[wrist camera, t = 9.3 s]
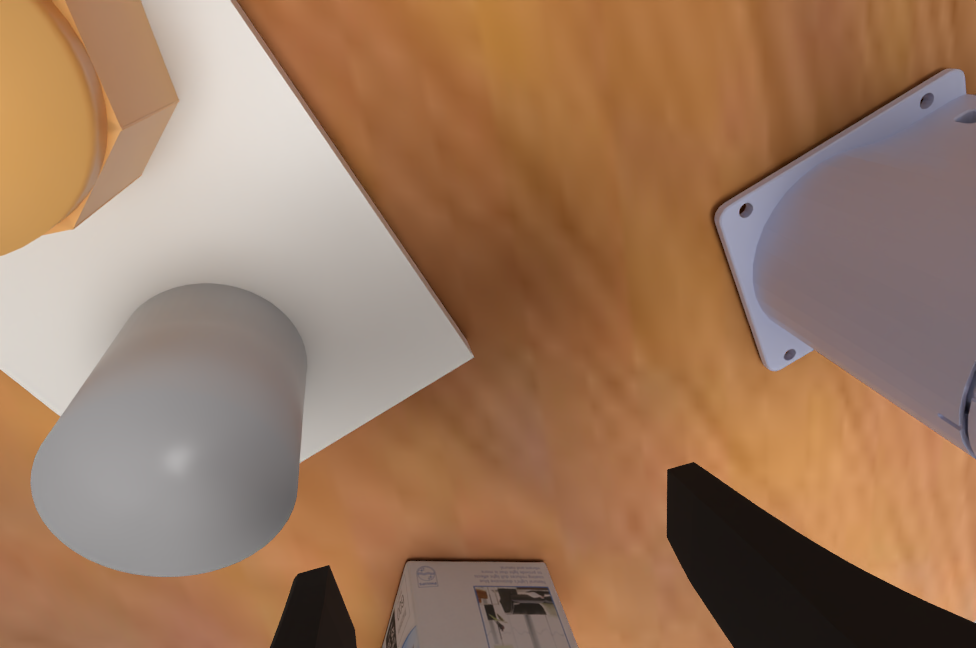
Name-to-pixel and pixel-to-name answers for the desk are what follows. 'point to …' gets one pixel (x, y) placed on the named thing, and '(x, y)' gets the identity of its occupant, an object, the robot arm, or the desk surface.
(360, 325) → the plate
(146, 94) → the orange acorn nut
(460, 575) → the light bulb box
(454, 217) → the desk surface
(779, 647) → the robot arm
